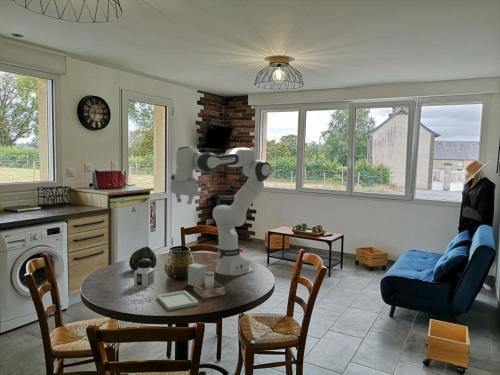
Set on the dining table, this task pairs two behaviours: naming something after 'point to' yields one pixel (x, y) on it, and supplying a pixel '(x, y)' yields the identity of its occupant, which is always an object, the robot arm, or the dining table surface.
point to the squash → (142, 257)
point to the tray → (177, 300)
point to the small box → (196, 273)
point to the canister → (209, 280)
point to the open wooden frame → (209, 293)
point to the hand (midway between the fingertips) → (184, 203)
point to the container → (144, 273)
